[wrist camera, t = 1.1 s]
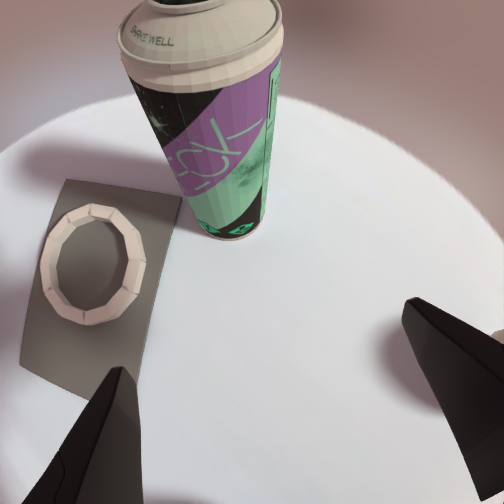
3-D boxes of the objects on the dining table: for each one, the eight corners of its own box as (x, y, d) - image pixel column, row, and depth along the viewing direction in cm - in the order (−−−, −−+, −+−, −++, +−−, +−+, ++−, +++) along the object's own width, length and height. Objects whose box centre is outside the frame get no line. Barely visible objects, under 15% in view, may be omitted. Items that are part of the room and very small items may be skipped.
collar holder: (131, 415, 21) (124, 420, 19) (22, 364, 21) (11, 365, 20) (182, 198, 25) (178, 190, 23) (68, 180, 25) (60, 173, 24)
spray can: (198, 177, 25) (124, -56, 6) (264, 176, 25) (283, -72, 6) (193, 241, 24) (57, 19, 4) (265, 241, 24) (302, -12, 4)
